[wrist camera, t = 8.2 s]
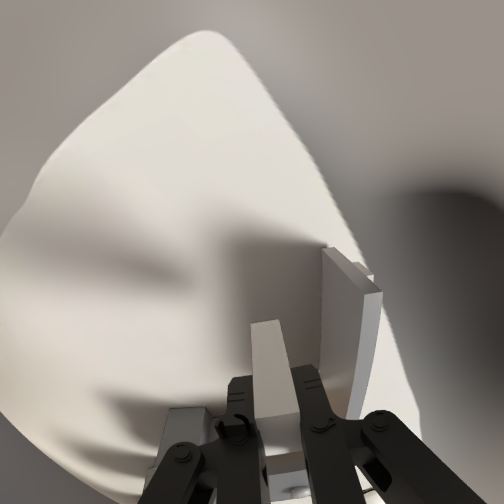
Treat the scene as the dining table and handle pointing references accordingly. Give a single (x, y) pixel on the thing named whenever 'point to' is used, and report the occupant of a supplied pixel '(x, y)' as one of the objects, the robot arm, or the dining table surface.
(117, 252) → the dining table surface
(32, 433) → the dining table surface
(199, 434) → the housing
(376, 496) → the flower in vase
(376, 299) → the door
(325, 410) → the robot arm
